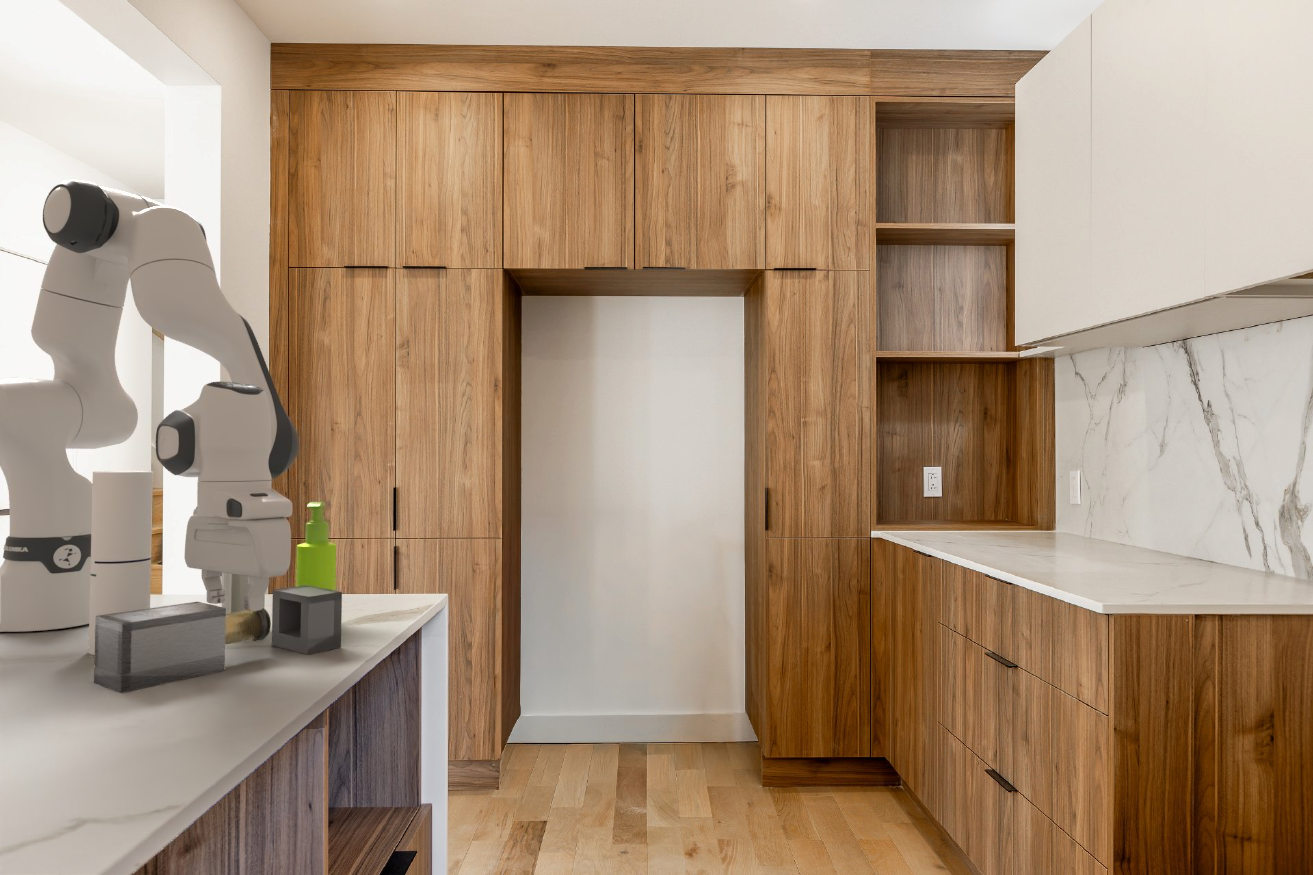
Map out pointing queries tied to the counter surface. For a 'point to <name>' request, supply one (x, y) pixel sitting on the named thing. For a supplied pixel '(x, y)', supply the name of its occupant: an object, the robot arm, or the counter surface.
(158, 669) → the grey sleeve
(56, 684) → the counter surface
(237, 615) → the brass slip tube
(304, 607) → the dark socket block
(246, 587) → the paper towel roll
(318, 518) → the soap dispenser
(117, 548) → the cylindrical container
